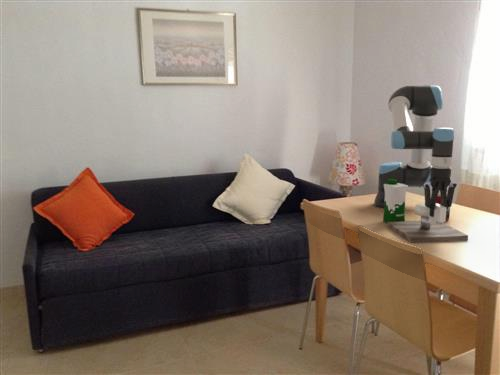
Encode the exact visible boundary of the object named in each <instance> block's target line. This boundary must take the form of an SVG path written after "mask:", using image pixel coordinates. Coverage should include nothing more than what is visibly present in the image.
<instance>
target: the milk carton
mask: <svg viewBox="0 0 500 375" xmlns="http://www.w3.org/2000/svg"><path fill="white" fill-rule="evenodd" d="M408 188H409V187H408V185H404V184H400V183H397V179H388V183H387V184H384V190H385V203H384V208H383V217H382V222H383V223H387V222H400V221H406V219H405V216H406V215H405V214H406V213H405V212H406V211H405V210H406V196H407V194H406V193H407V191H408Z"/></svg>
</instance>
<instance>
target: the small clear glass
mask: <svg viewBox="0 0 500 375" xmlns="http://www.w3.org/2000/svg"><path fill="white" fill-rule="evenodd" d="M420 221H421V226H420V228H421V229H424V230H429V229H430V227H431V218H430V217H425V216H420Z"/></svg>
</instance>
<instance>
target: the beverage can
mask: <svg viewBox="0 0 500 375" xmlns="http://www.w3.org/2000/svg"><path fill="white" fill-rule="evenodd" d="M446 195H447V193H446ZM436 203H438V204H440V205H441V194H440V193H438V196H437V201H436ZM450 213H451V207H448V209H446V221H449V220H450V216H451V215H450ZM446 221H445V222H446Z"/></svg>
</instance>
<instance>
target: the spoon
mask: <svg viewBox="0 0 500 375" xmlns="http://www.w3.org/2000/svg"><path fill="white" fill-rule="evenodd" d="M414 208H415V209H414V214H415V215H417V216H420V217H421V216H425V217H430V218H431V216H430V215H429V213H430V208H428V207H426V206H425V202H424V203H423V202H422V203H421V202H420V203H417V204H415V207H414ZM446 208H447V207H444V206H442V205H440V204H438V203H436V206H435V209H437V214H436V221H438V222H443V223H446Z"/></svg>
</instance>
